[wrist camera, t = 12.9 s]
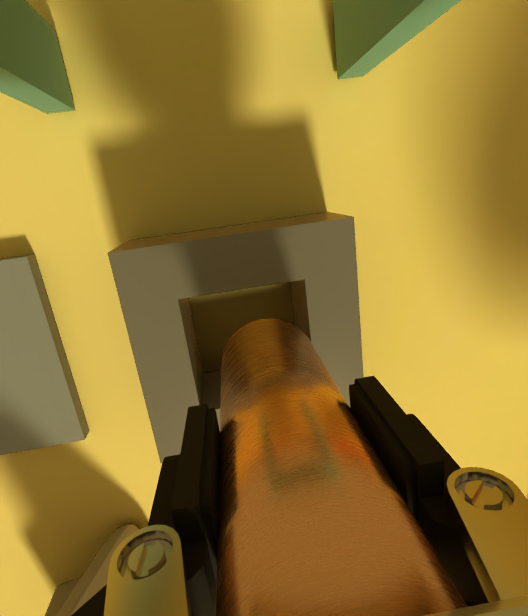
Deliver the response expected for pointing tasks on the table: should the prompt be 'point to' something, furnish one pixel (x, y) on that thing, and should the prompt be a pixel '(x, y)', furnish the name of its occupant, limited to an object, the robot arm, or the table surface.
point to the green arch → (347, 25)
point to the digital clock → (88, 577)
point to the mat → (33, 365)
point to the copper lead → (310, 495)
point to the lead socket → (228, 277)
